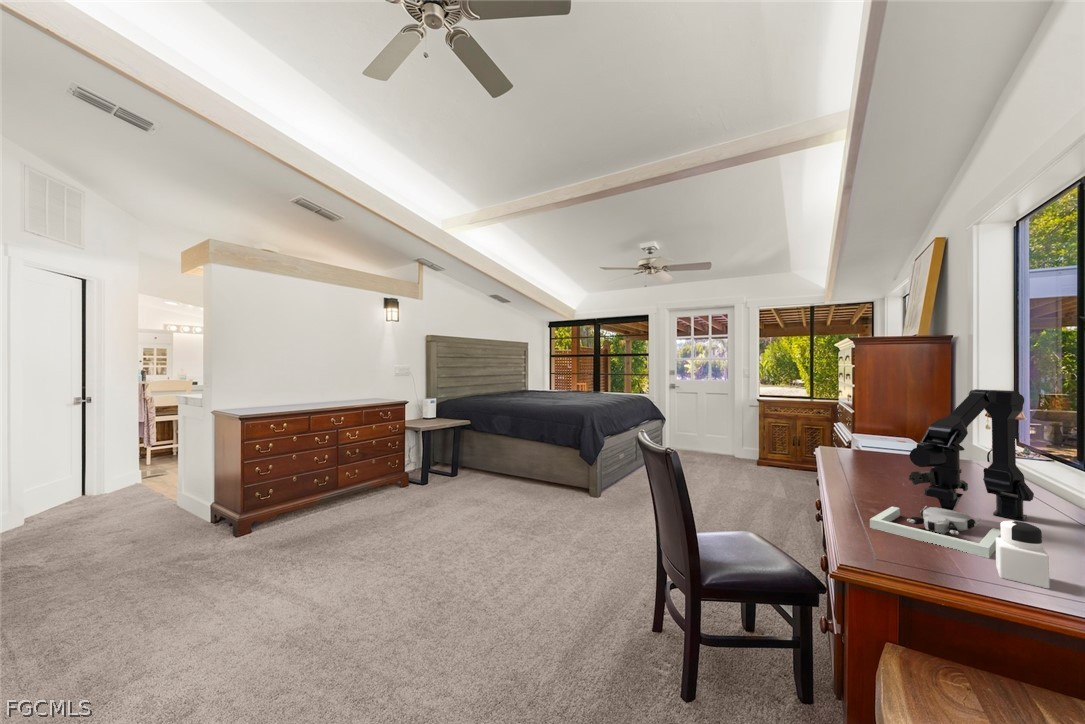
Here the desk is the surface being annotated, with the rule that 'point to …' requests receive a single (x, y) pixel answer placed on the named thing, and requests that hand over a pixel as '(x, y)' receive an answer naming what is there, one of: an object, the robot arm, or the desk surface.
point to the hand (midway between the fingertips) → (947, 516)
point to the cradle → (934, 534)
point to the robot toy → (944, 520)
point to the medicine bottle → (1022, 554)
